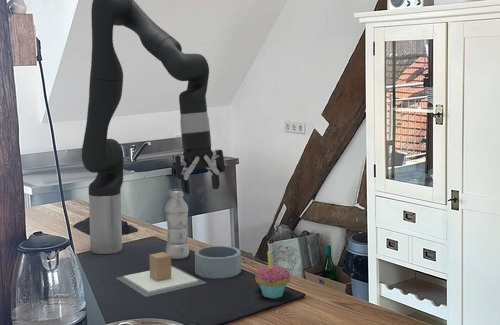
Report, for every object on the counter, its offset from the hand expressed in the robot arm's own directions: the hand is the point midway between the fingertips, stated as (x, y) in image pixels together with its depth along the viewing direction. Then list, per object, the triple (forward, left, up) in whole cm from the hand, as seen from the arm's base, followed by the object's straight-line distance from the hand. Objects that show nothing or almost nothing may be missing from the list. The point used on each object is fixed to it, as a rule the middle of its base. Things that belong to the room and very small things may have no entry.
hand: (201, 191), depth 172 cm
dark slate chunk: (-58, -3, -23) cm, 62 cm away
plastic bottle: (-14, 0, -22) cm, 26 cm away
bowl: (+4, +2, -22) cm, 22 cm away
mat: (+2, -14, -22) cm, 26 cm away
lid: (+2, -14, -21) cm, 25 cm away
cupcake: (+25, +4, -22) cm, 34 cm away
